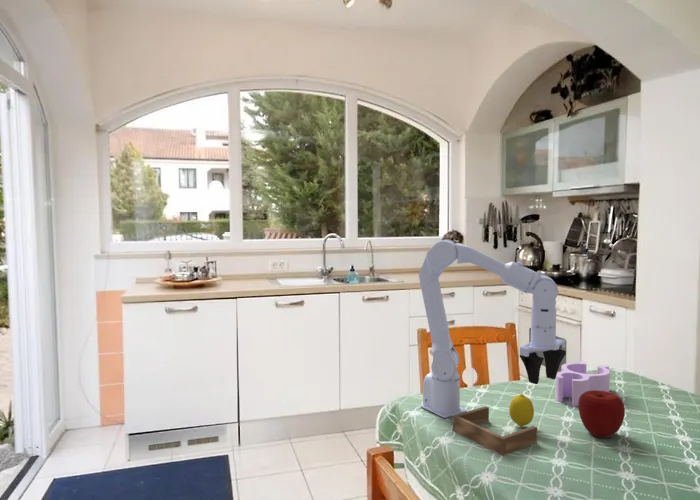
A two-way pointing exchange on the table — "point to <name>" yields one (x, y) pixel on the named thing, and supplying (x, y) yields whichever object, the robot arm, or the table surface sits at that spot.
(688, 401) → the table surface
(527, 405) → the lemon
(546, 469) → the table surface
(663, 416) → the table surface
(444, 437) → the table surface
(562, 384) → the clip
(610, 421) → the apple
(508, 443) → the frame
